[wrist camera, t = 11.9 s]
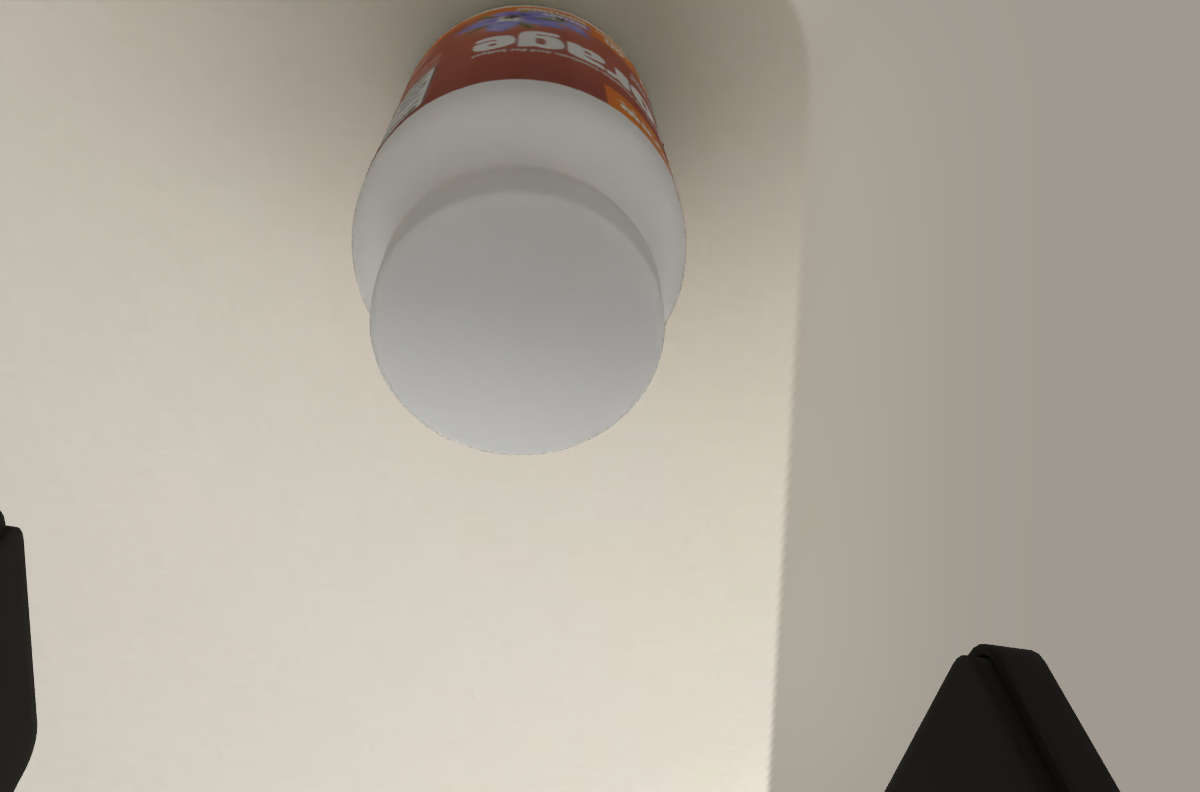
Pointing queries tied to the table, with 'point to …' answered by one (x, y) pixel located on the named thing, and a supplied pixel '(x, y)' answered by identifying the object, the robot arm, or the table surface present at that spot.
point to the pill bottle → (520, 235)
